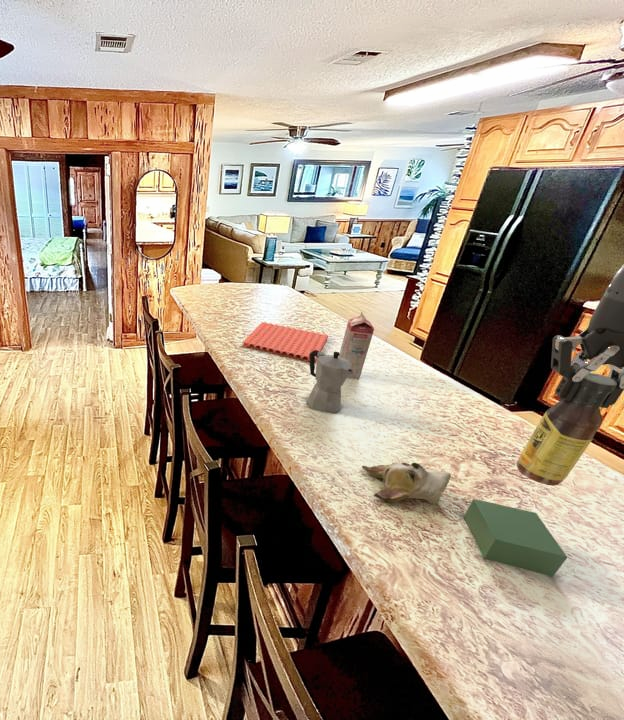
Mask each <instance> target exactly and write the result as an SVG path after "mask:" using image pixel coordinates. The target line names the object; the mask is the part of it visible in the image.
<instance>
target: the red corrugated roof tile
mask: <svg viewBox="0 0 624 720" xmlns="http://www.w3.org/2000/svg"><path fill="white" fill-rule="evenodd" d="M328 338H329V335H328V334H326V333H320V332H314V331H309V330H307V329H305V330H302V329H301V328H296V327H290V326H284V325H279V324H277V323H275V324H273V323H271V322H270V323H268V322H266V321H263V322H261V323H259V325H257V327H256V328H254V330H253V331H252V332H251V333H250V334H249V335H248V336H247V337H246V338H245V339H244V340H243V341H242V343H241V344H242V346H243V348H249V349H250V350H252V349H255V350H256V351H262V352H263V353H265V352H268V353H269V354H275V355H277V356H279V355H280V356H282V357H288V358H289V359H293V358H294V359H295V360H302V361H303V362H310V359H309V354H310V353H311V352H312V351H314V350H318V351H319V352H323V349H324V347H325V344H326V343H327V340H328ZM315 363H316V364H317V357H316V356H315V362H314V364H315Z"/></svg>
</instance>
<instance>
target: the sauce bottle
mask: <svg viewBox="0 0 624 720" xmlns="http://www.w3.org/2000/svg"><path fill="white" fill-rule="evenodd" d="M580 383H581V385H580V386H579V388H578V390H577V391H576V393H575V395H574V396H573V398H572V400H571V401H570V402H563V401H561V400H560V399H559V401H558V402H556V403H554V405H553V406H551V407H550V408H548V409H547V410H546V411H545V413H543V416H542V417H541V419H540V420H539V423H538V424H537V426H536V427H535V428H534V430H533V433H532V434H531V436H530V437H529V439H528V441H527V442H526V444H525V446H524V447H523V449H522V451H521V453H520V455H519V456H518V460H517V461H516V468H517V470H518V471H519V473H520V474H521V475H522V476H524V477H526V478H528V479H530V480H532V481H534V482H536V483H539V484H541V485H546V486H553V487H554V486H558V485H560V484H561V483H563V482H564V480H565V479H567V477H568V476H569V474H570V473H571V471H572V470H573V469H574V468H575V466H576V465H577V463H578V462H579V460H580V458H581V457H582V455H583V454H584V452H585V451H586V450H587V449H588V446H590V444H591V442H592V440H593V439H594V437H595V434H596V433H597V432H598V430H600V428H601V426H602V423H603V414H602V413H601V407H602V405H603V402H604V400H605V399H606V398H607V396H608V394H609V393H611V392H612V391H614V389H615V387H616V386H617V382H616V381H615V380H613V379H611V378H609V376H607V375H603V374H599V373H595V372H590V373H589V374H588V375H587V376H586V377H585V378H584V379H583V380H581V381H580Z"/></svg>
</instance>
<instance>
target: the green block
mask: <svg viewBox="0 0 624 720" xmlns="http://www.w3.org/2000/svg"><path fill="white" fill-rule="evenodd" d="M463 519H464V521H465V524H466V525H467V527H468V529H469V531H470V533H471V535H472V537H473V539H474V541H475V544H476V545H477V548H478V550H479V551H480V554H481V556H482V558H483V559H484V560H487V561H490V562H495V563H499V564H502V565H507V566H510V567H514V568H517V569H522V570H525V571H529V572H533V573H536V574H541V575H545V576H549V577H554V576H555V575H556V574H557V572H558V571H559V570H560V568H561V567H562V566H563V564H564V563H565V561H566V560H567V559H568V555H566V553H565V552H564V550H563V548H562V547H561V546H560V545H559V543H558V542H557V540H556V539H555V537H554V536H553V534H552V533H551V532H550V530H549V529H548V527H547V526H546V525H545V524H544V522H543V520H542V519H541V518H540V516H539V515H538V513H537V512H534V511H530V510H525V509H520V508H516V507H511V506H507V505H503V504H498V503H494V502H489V501H485V500H480V499H475V498H473V499H472V501H471V503H470V504H469V506H468V508H467V510H466V512H465V514H464V515H463Z"/></svg>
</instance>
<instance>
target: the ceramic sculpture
mask: <svg viewBox="0 0 624 720" xmlns="http://www.w3.org/2000/svg"><path fill="white" fill-rule="evenodd" d="M361 468H362V469H363V470H365V472H367V473H368V474H369V475H371V476H373V477H374V478H377V479H381V480H382V481H383V487H381V488H380V490H378V491H377V492H376V493H374V494H373V497H375V498H377V499H380V500H383V501H385V502H389V503H398V502H400V501H403V500H406V499H421V500H425V501H426V502H428V503H430V504H433V505H434V504H436V503H437V504H438V502H439V501H440V498H441V496H442V494H443V493H444V492H445V491H446V489H447V487H448V485H449V483H450V479H451V477H452V474H451V473H450V472H444V471H442V470H438V469H426V468H425V467H424V466H423V465H421V463H418V462H411V463H407V462H393V463H390V464H385V465H384V464H380V465H379V464H378V465H374V466H367V465H362V466H361Z"/></svg>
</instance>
